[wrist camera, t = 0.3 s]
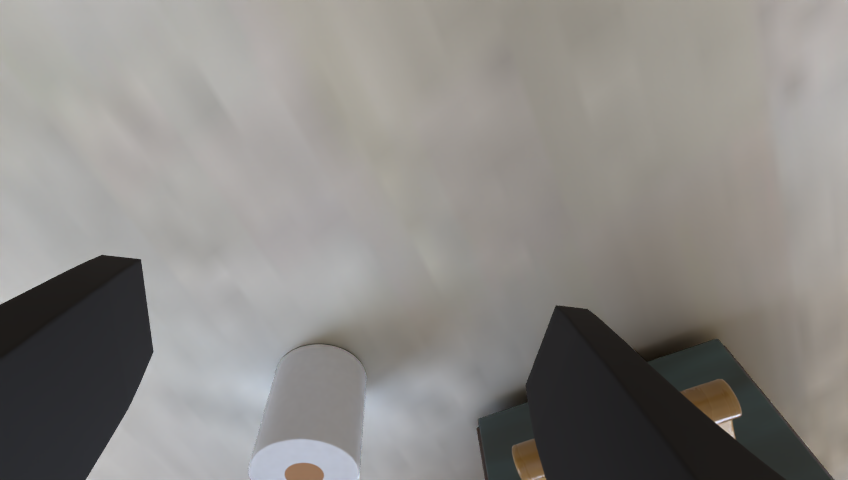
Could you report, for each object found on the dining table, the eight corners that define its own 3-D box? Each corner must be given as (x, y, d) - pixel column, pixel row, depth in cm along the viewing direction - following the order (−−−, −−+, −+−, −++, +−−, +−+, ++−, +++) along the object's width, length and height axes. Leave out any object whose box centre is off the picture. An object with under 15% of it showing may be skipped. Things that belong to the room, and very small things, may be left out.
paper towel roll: (360, 411, 25) (353, 510, 20) (274, 404, 24) (247, 503, 20) (372, 348, 23) (366, 444, 18) (277, 338, 22) (248, 434, 18)
